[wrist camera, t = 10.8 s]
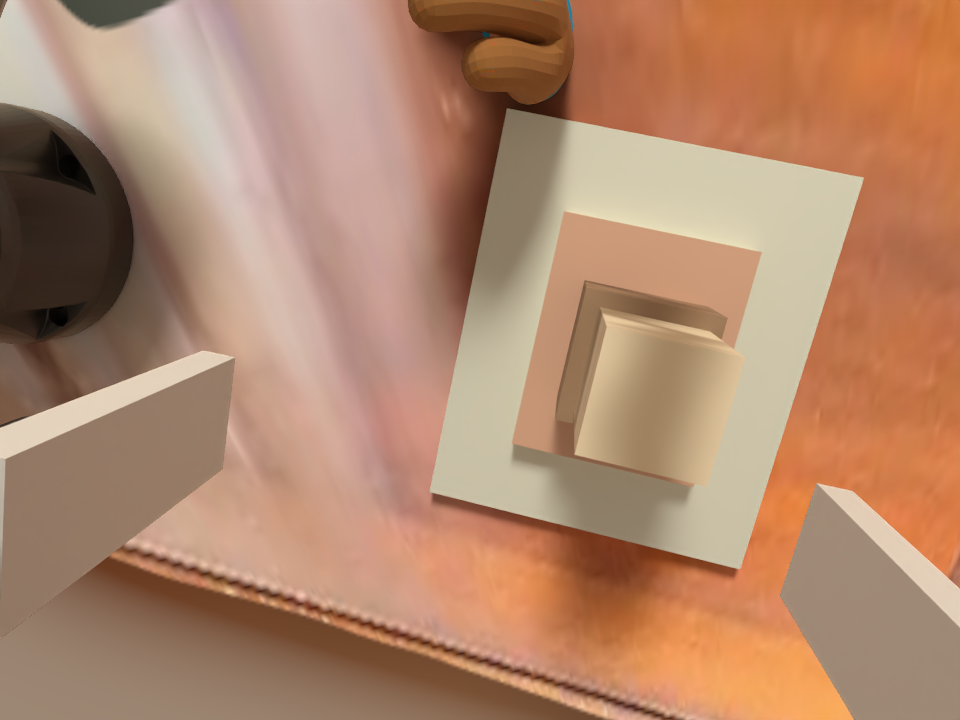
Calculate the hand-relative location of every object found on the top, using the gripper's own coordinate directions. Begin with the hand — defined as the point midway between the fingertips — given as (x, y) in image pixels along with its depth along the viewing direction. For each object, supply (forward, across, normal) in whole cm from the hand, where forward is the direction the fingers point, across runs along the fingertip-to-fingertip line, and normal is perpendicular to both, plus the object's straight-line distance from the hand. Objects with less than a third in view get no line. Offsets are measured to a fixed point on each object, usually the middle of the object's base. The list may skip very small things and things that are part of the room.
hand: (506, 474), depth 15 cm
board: (+27, +6, -1) cm, 28 cm away
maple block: (+20, +6, -1) cm, 21 cm away
